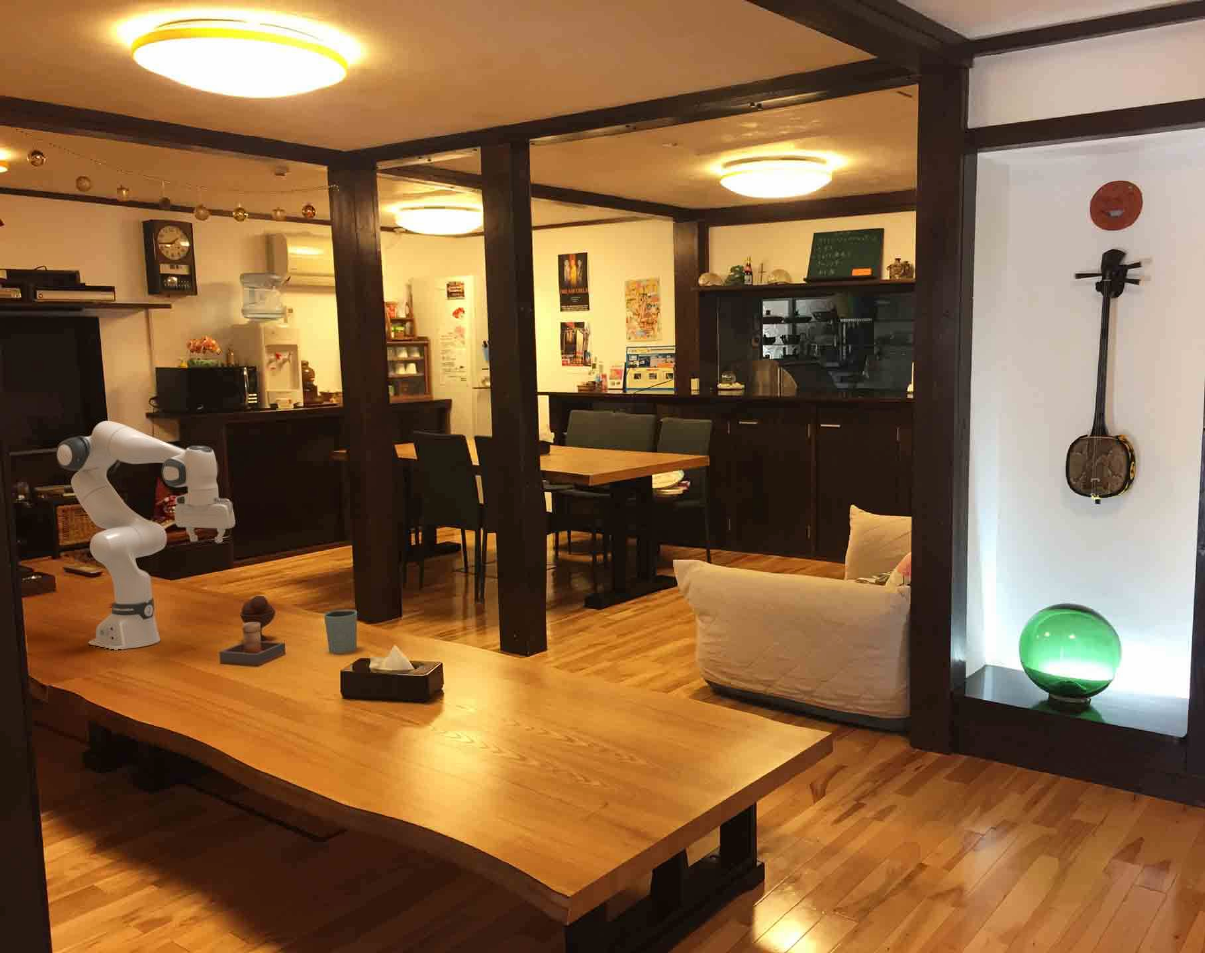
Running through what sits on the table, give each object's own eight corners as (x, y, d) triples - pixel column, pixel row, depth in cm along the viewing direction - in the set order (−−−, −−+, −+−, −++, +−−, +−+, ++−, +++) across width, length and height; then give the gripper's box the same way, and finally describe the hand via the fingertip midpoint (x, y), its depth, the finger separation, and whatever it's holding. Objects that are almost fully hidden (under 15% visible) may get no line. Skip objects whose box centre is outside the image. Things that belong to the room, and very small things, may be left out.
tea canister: (240, 657, 315) (238, 625, 314) (251, 653, 320) (249, 621, 319) (254, 658, 314) (252, 626, 313) (265, 654, 319) (263, 622, 318)
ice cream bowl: (281, 635, 344) (279, 591, 342) (267, 644, 333) (265, 599, 331) (251, 635, 345) (248, 591, 343) (236, 644, 334) (233, 599, 332)
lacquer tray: (220, 663, 313) (219, 651, 312) (248, 651, 326) (248, 640, 325) (258, 666, 308) (257, 654, 308) (285, 653, 321) (284, 642, 321)
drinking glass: (339, 656, 317) (337, 618, 316) (319, 651, 323) (317, 614, 322) (365, 648, 325) (363, 611, 324) (345, 644, 331) (343, 607, 330)
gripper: (238, 497, 321) (240, 541, 322) (184, 496, 327) (187, 539, 329) (224, 499, 315) (227, 544, 316) (170, 498, 321) (173, 542, 323)
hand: (206, 541), depth 323 cm, fingers open, 8 cm apart
